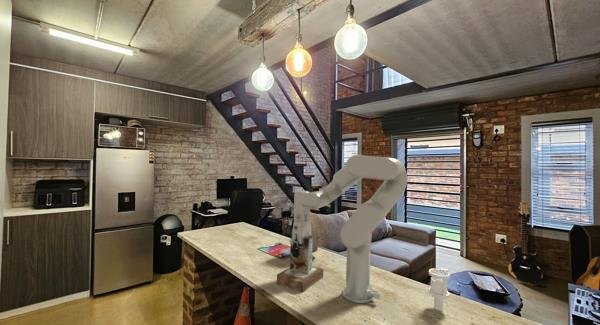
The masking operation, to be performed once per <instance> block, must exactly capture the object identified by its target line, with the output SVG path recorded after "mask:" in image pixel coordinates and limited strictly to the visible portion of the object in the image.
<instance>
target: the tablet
mask: <svg viewBox="0 0 600 325" xmlns="http://www.w3.org/2000/svg"><path fill="white" fill-rule="evenodd" d="M274 244H275V245H274V246H269V247H264V246H261V247H257V248H256V250H258V251H261V252H262V253H265V254H267V255H270V256H272V257H274V258H277V259H279V260H285V259H288V258H289V259H290V250H291V245H287V244H286V243H285V244H284V243H282V242H276V243H274Z"/></svg>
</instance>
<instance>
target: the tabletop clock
mask: <svg viewBox="0 0 600 325" xmlns="http://www.w3.org/2000/svg"><path fill="white" fill-rule="evenodd" d="M311 232H312V236H313V241H312V260H315V259H316V256H313V253H315V252H317V251H318V248H319V232H318V229H317V228H315V227H313V226H311ZM292 233H293V228H292V229H291V232H290V237H291V236H292ZM289 239H290V240H291V238H289ZM290 240H289V241H290Z"/></svg>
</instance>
